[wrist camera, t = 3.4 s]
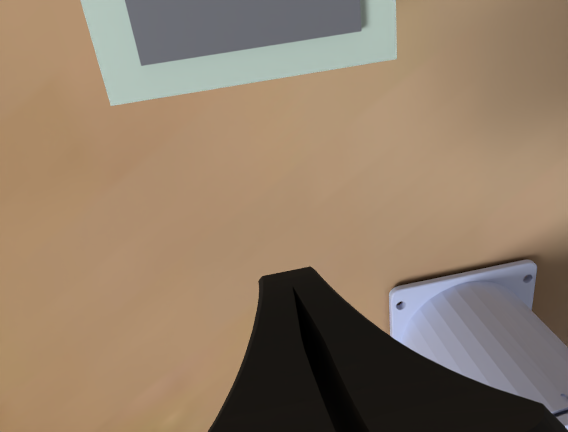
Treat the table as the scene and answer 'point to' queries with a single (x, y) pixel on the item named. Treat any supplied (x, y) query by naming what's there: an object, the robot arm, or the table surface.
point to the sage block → (231, 41)
